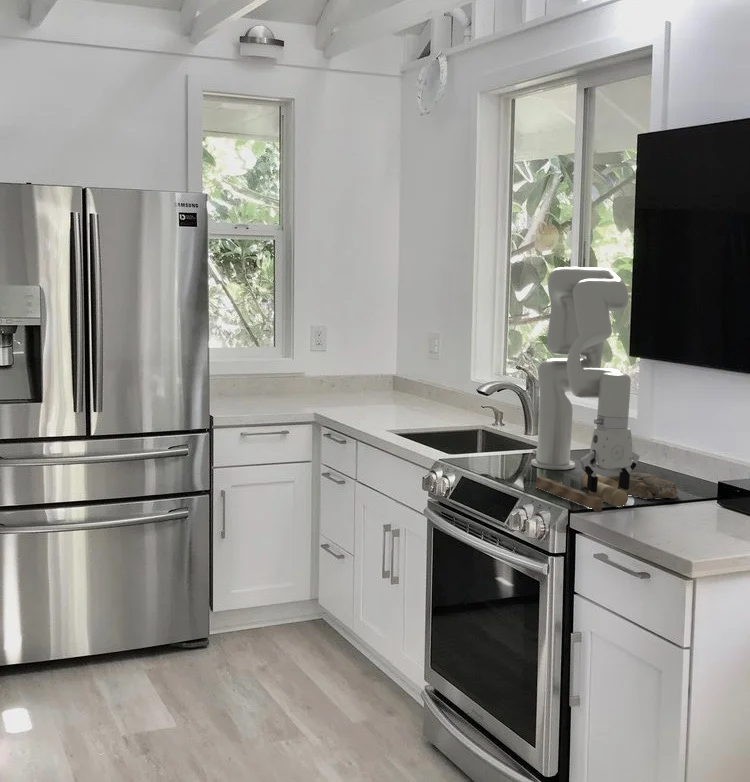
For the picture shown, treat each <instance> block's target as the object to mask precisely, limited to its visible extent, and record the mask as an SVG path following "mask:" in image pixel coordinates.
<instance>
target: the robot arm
mask: <svg viewBox="0 0 750 782" xmlns="http://www.w3.org/2000/svg"><path fill="white" fill-rule="evenodd" d="M547 291H548V295H549V299H550V313H549V321H548V329H547V330H548V331H547V342H546V344H547V349H548V351H549V352H550V353H551V354H554V355H557V356H558V355H559V356H567V357H560V358H559V357H553V358H547V359H545V360H543V361H542V362H540V364H539V365H538V368H537V377H538V379H537V380H538V386H539V387H538V389H539V408H538V409H539V414H538V431H537V447H536V448H534V449H533V450H532V453H533V454H535V458H533V459H531V461H530V463H531V464H530V465H531V466H533V467H536V468H540V469H544V470H545V469H546V470H552V471H553V470H554V471H556V470H557V471H559V470H560V471H563V470H566V471H567V470H571V469H574V468H575V467H576V462H575V461H572V460H571V445H572V429H573V405H572V404H573V403H571V401H570V399H569V398H568V396H567V395H566V393H567V392H571V393H572V394H573V396H575V397H577V398H581V399H582V398H584V399H585V398H586V399H587V398H589V399H591V398H592V399H594V398H595V399H596V398H597V399H598V400H597V401H598V402H597V414H596V415H597V416H596V418H594V420H593V423H594V425H596V427H594V429H593V432H592V433H593V434H592V438H591V443H590V449H589V452H588V453H587V454H586V455H584V456H582V457H581V458H580V459H579V462H580V464H581V469H582V470H583V471H584V473H585V472H586V474H587V475H588V480H587V488H586V489H587V491H588V492H589V491H591V492H594V493H595V492H597V485H598V477H596V475H597V474H599V472H600V471H601V470H605V471H606V470H607V471H609V470H618V469H620V470H621V471H619V474H620V477H619V487H620V488H623V489H625V490H628V489H629V481H630V474H632V473H634V472H633V471H634V470H635V468H636V467H637V463H638V462H639V459H640V455H639V454H637V453H636V452H634V451H633V436H632V432H631V431H632V430H631V428H630V427H629V426H628V425H629V412H630V401H631V400H630V399H631V398H630V397H631V388H632V387H631V386H632V384H631V382H632V379H631V377H630V376H629V374H626V373H624V372H623V371H622V370H620V369H617V368H602V359H603V352H604V342H605V341H606V340H608V339H609V338H610V337H611V335H612V333H613V327H612V323H611V317H610V312H622V311H624V310H625V309H626V308H627V306H628V303H629V290H628V287H627V285H626V283H625V281H624V280H623V279H622V278H621V277H620V276H619V275H617V274H616V273H615V272H614V271H613V270H611V269H609V268H604V267H603V268H602V267H579V266H564V267H563V266H562V267H556V268H554V269H553V270H551V272H550V273H549V276H548V281H547ZM581 356H582V358H581ZM589 464H590V465H589Z"/></svg>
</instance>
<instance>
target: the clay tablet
mask: <svg viewBox="0 0 750 782" xmlns="http://www.w3.org/2000/svg"><path fill="white" fill-rule="evenodd" d="M606 477H607V478H610V479H613V480H615V481H616V482H617V484H618V489H620V490H623V491H625V492H626V493H627V495H632V496H638V497H642V498H647V499H652V500H654V499H653V498H670V499H676V498H678V497H677V496H679V489H678V486H677V485H676V484H675V483H674V482H673V481H671V480H670V481H669V480H667V479H663V478H660V477H657V476H656V475H653V474H651V473H645V472H644V473H643V472H632V474H630V481H629V489H628V490H625V489H623V488H620V487H619V477H620V473H619V474H612V475H609V476H606ZM647 499H646V500H647Z"/></svg>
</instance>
